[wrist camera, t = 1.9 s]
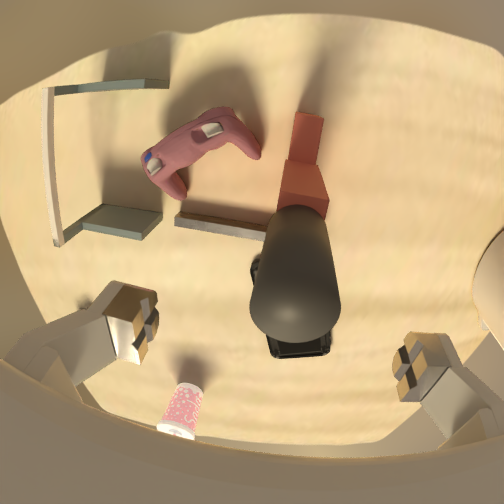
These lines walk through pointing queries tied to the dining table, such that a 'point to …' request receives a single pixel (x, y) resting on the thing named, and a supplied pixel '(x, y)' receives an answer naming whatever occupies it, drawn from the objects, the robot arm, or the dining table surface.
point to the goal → (103, 216)
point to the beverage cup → (182, 411)
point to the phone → (294, 349)
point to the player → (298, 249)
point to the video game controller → (195, 147)
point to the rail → (221, 226)
